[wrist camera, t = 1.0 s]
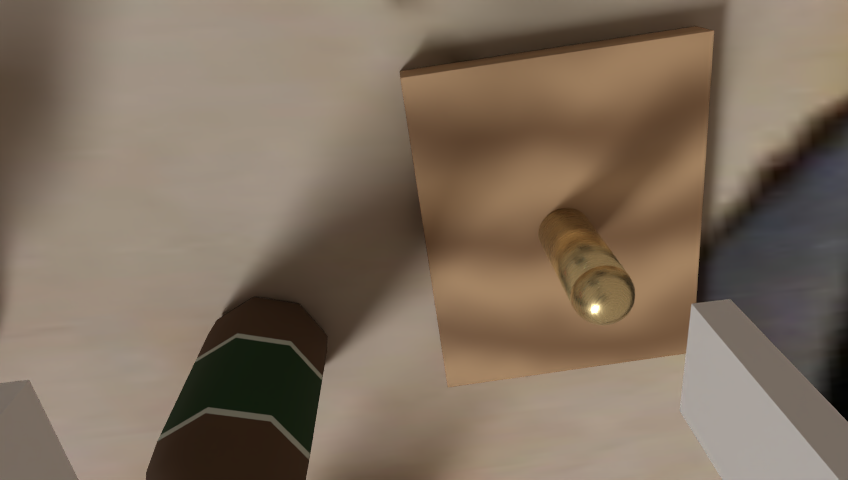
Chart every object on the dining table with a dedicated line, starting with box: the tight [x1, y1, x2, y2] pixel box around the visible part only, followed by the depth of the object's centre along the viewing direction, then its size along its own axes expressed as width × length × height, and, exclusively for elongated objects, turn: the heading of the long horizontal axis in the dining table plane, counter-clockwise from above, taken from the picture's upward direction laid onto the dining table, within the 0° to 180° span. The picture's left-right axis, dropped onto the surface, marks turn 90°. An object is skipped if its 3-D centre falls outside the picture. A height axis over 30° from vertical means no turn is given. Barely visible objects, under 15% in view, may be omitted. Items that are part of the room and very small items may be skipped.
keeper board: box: [400, 26, 714, 387], centre depth 36 cm, size 20×16×2 cm
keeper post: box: [538, 208, 635, 325], centre depth 31 cm, size 3×3×8 cm
